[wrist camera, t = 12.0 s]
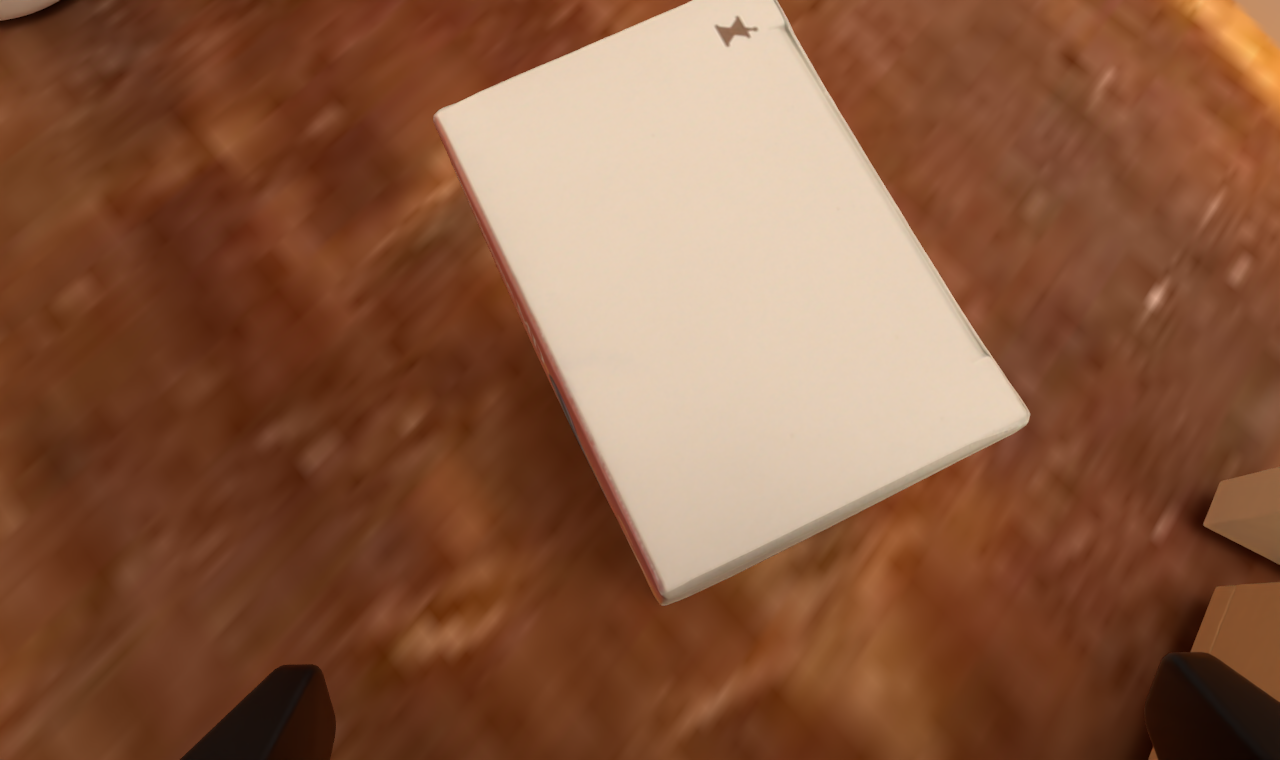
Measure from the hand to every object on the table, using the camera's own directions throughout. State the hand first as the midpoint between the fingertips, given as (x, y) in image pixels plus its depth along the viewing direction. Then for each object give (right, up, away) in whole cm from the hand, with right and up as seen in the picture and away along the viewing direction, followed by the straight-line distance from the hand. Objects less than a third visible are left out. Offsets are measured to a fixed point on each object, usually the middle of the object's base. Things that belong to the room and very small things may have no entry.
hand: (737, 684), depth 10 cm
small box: (0, +2, +13) cm, 13 cm away
